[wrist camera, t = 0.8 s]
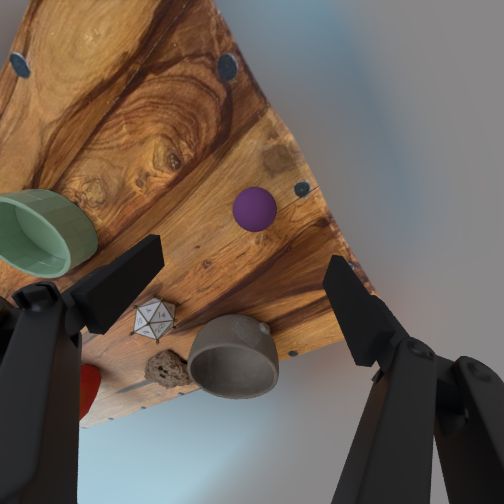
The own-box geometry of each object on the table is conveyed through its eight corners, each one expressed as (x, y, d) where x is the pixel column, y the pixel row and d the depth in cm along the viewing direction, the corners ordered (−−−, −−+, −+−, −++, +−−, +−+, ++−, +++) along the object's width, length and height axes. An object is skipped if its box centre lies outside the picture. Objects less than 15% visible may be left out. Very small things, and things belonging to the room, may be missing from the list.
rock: (169, 345, 48) (162, 360, 44) (204, 372, 52) (200, 387, 49) (134, 363, 52) (125, 378, 49) (169, 386, 57) (164, 400, 53)
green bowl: (0, 184, 30) (-52, 191, 25) (83, 193, 29) (47, 202, 25) (39, 256, 36) (4, 273, 31) (107, 264, 36) (82, 282, 31)
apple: (116, 365, 53) (71, 430, 41) (110, 383, 59) (69, 445, 46) (70, 349, 51) (8, 414, 39) (68, 370, 56) (13, 432, 44)
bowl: (263, 293, 37) (262, 339, 28) (285, 349, 45) (289, 397, 36) (187, 309, 40) (165, 354, 32) (219, 358, 48) (209, 404, 40)
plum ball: (237, 181, 27) (230, 189, 22) (278, 186, 27) (281, 195, 22) (235, 221, 30) (228, 236, 25) (272, 225, 30) (274, 241, 25)
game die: (171, 284, 42) (158, 288, 32) (191, 316, 42) (184, 330, 33) (133, 307, 40) (106, 319, 30) (154, 340, 40) (134, 363, 31)
